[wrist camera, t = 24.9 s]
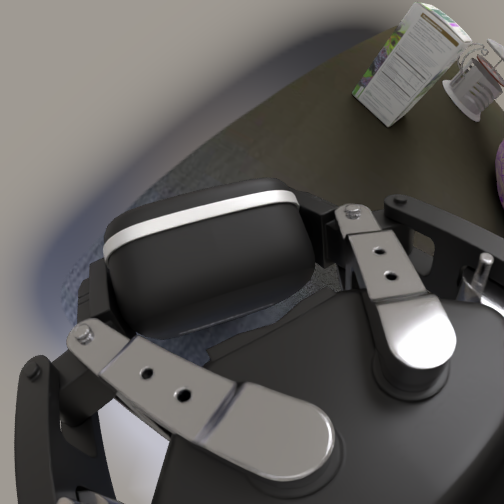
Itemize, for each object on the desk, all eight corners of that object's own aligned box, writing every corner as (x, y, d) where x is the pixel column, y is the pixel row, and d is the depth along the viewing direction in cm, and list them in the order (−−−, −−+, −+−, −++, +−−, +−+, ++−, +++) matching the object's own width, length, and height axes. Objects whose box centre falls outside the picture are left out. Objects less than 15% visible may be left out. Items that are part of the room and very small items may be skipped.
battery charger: (160, 344, 17) (111, 351, 6) (143, 287, 18) (82, 216, 7) (262, 311, 19) (351, 273, 8) (244, 257, 20) (303, 163, 9)
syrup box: (372, 83, 30) (429, 1, 16) (407, 116, 29) (474, 39, 15) (350, 94, 28) (413, -3, 14) (389, 130, 27) (467, 41, 14)
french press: (486, 130, 35) (567, 57, 12) (445, 101, 34) (531, 8, 10) (469, 95, 38) (537, 24, 15) (429, 67, 37) (498, -18, 13)
